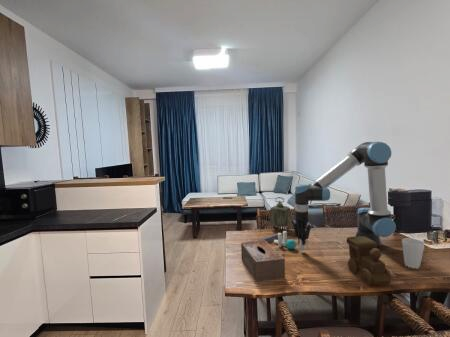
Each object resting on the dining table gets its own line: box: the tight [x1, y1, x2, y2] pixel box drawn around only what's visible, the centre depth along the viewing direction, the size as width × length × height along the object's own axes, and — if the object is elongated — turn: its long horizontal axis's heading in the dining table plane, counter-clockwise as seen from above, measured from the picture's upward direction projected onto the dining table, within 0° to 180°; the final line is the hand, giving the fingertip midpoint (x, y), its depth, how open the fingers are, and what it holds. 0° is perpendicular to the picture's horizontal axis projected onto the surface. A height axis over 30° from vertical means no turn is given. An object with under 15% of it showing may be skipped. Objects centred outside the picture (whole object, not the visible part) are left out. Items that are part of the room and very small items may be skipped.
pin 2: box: [282, 230, 288, 243], centre depth 167 cm, size 2×2×8 cm
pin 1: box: [277, 232, 283, 248], centre depth 164 cm, size 2×2×8 cm
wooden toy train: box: [346, 236, 392, 286], centre depth 123 cm, size 20×11×17 cm, turn 6°
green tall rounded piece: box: [268, 196, 292, 231], centre depth 196 cm, size 14×9×25 cm, turn 58°
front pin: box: [273, 239, 287, 248], centre depth 167 cm, size 2×2×8 cm
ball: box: [286, 239, 297, 250], centre depth 159 cm, size 6×6×6 cm
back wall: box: [257, 232, 279, 243], centre depth 174 cm, size 2×20×3 cm, turn 129°
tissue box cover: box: [240, 240, 286, 283], centre depth 136 cm, size 26×14×10 cm, turn 12°
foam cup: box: [401, 237, 425, 269], centre depth 134 cm, size 10×9×13 cm
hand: (301, 249), depth 154 cm, fingers closed
